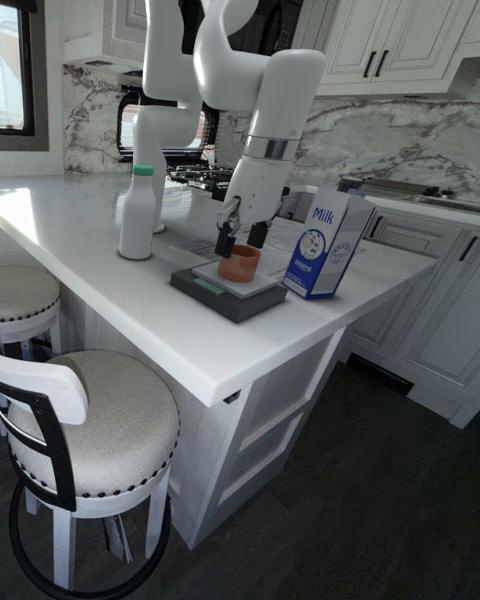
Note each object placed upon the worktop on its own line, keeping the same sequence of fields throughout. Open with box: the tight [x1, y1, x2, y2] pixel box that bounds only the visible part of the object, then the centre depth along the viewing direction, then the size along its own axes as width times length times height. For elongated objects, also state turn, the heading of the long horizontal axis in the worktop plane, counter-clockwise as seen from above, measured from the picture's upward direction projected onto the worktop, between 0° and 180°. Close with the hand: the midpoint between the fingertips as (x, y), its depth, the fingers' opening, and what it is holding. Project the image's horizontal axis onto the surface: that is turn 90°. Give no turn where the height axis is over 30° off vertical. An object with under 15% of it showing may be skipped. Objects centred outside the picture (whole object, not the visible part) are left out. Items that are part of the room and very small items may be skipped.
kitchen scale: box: [169, 258, 290, 324], centre depth 59 cm, size 16×15×4 cm
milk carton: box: [281, 185, 379, 300], centre depth 58 cm, size 7×7×20 cm
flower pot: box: [217, 243, 262, 283], centre depth 58 cm, size 7×7×5 cm
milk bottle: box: [118, 165, 156, 260], centre depth 70 cm, size 8×8×20 cm
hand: (238, 251), depth 57 cm, fingers open, 9 cm apart
